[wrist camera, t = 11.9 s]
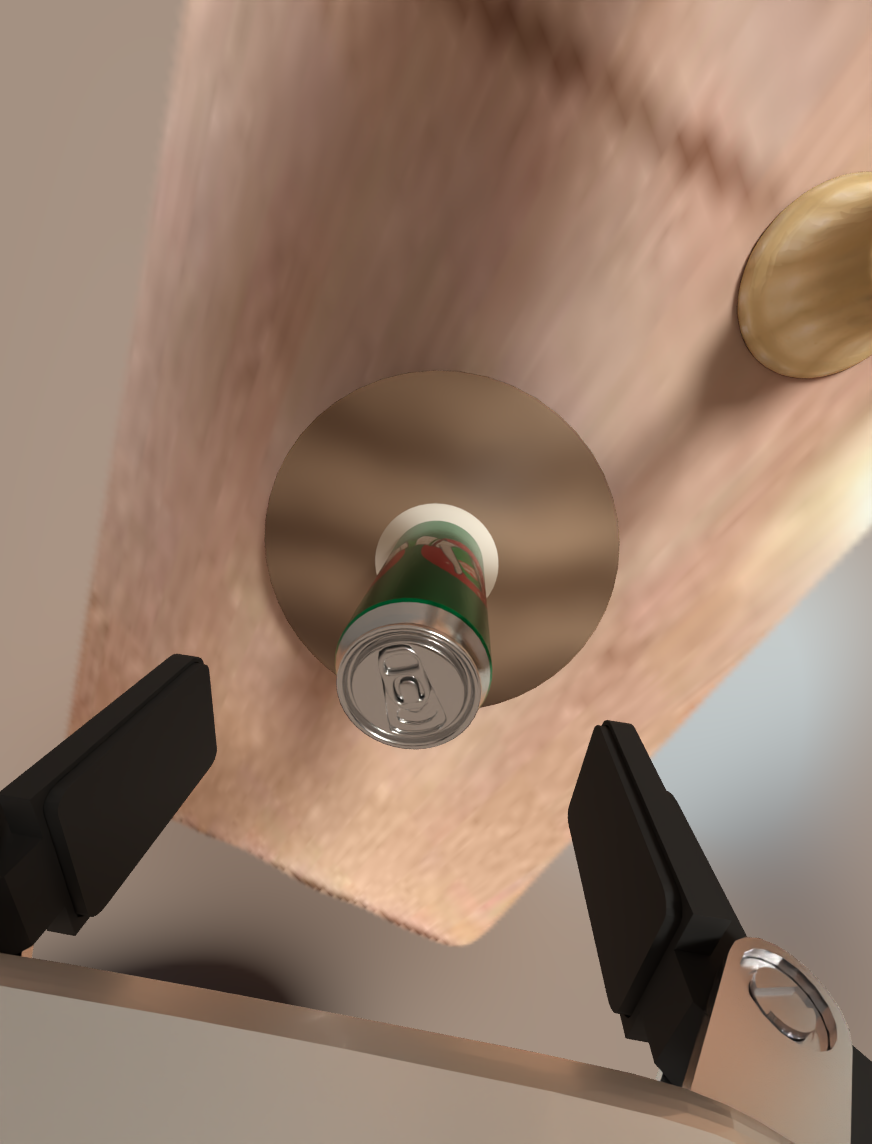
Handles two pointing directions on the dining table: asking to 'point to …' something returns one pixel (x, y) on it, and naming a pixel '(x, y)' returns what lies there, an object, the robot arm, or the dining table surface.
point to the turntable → (447, 514)
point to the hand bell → (812, 282)
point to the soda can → (419, 642)
